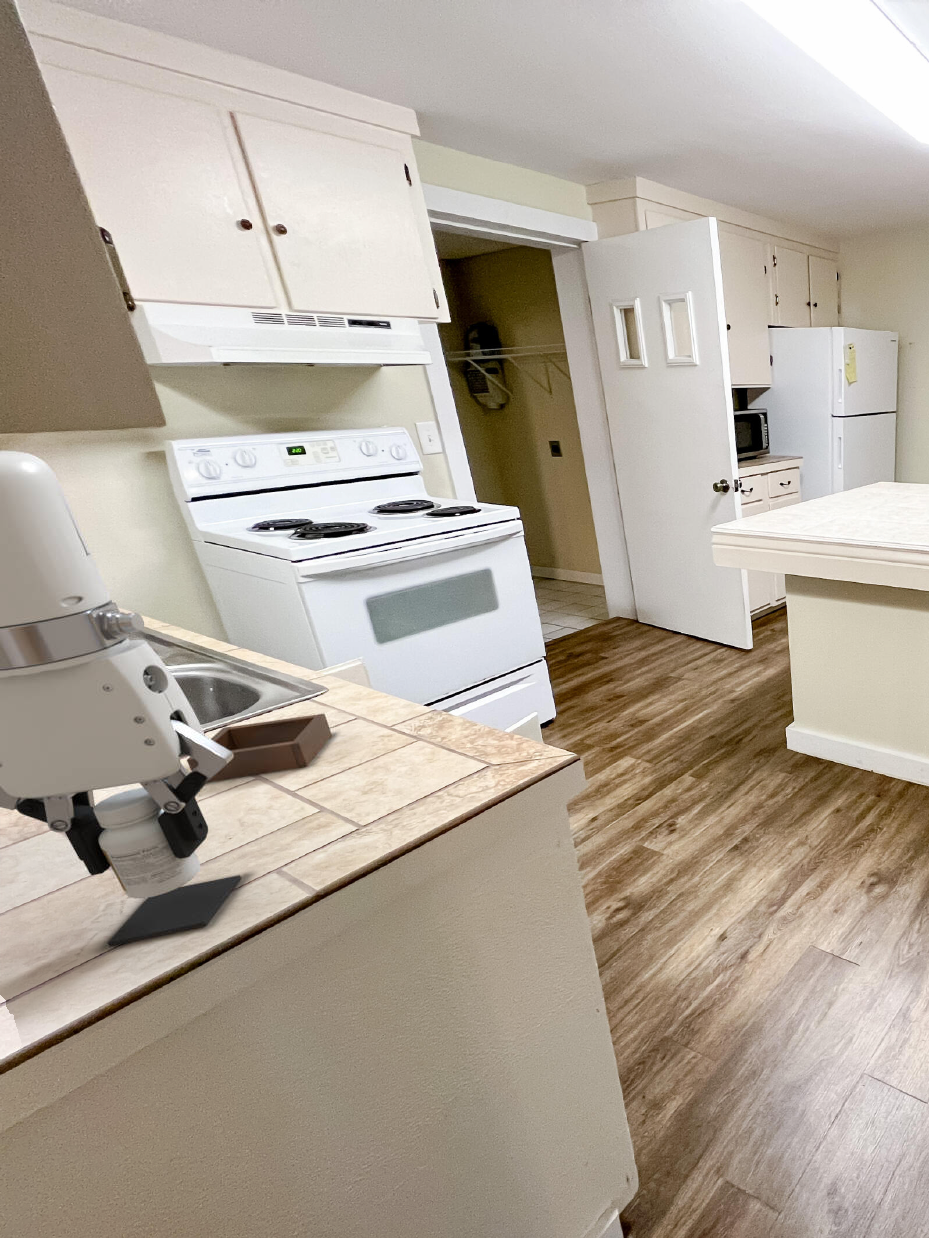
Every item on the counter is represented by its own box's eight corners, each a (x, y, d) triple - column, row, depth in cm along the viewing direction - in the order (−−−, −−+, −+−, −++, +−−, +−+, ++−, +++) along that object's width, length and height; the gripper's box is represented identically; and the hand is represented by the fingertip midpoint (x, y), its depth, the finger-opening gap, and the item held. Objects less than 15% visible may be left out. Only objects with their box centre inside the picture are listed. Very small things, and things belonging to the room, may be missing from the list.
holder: (197, 784, 74) (186, 759, 73) (232, 749, 81) (223, 727, 80) (307, 766, 77) (298, 742, 76) (332, 735, 84) (324, 713, 83)
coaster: (109, 946, 52) (106, 942, 52) (154, 895, 58) (152, 892, 57) (206, 926, 54) (204, 922, 54) (241, 878, 59) (240, 874, 59)
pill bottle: (148, 870, 56) (108, 789, 53) (213, 859, 57) (177, 779, 54) (111, 906, 52) (66, 821, 49) (182, 893, 53) (142, 809, 51)
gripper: (222, 608, 53) (299, 807, 60) (-75, 637, 48) (45, 852, 55) (168, 639, 46) (261, 859, 53) (-184, 676, 41) (-32, 915, 48)
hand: (151, 853), depth 54 cm, fingers closed on pill bottle, 4 cm apart
